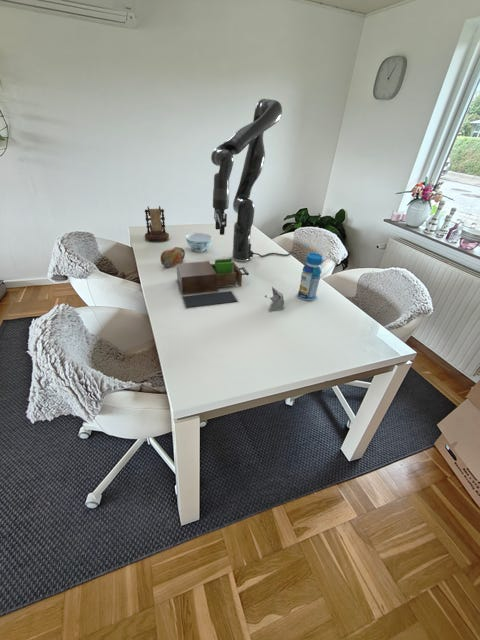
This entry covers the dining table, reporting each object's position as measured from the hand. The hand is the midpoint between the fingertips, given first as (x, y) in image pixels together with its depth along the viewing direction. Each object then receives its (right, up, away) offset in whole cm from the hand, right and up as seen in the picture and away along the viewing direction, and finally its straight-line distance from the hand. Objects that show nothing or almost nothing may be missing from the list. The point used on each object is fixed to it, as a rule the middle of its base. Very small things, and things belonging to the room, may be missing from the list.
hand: (219, 231), depth 150 cm
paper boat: (+25, -37, -19) cm, 49 cm away
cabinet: (-10, -28, -8) cm, 31 cm away
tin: (-25, -14, +10) cm, 31 cm away
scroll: (-42, +7, +41) cm, 59 cm away
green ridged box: (+2, -24, -6) cm, 25 cm away
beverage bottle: (+41, -33, -11) cm, 54 cm away
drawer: (+4, -25, -4) cm, 26 cm away
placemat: (-3, -35, -18) cm, 40 cm away
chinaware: (-14, -2, +29) cm, 33 cm away
